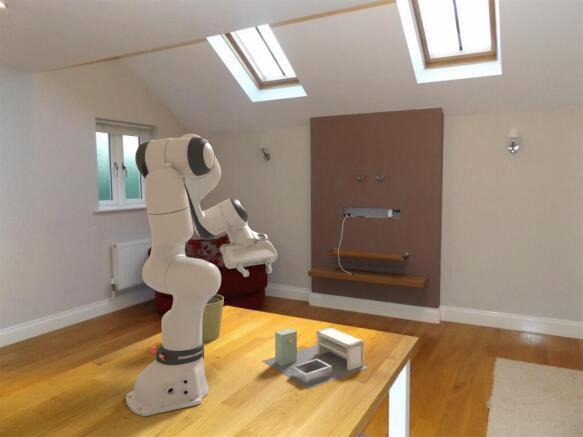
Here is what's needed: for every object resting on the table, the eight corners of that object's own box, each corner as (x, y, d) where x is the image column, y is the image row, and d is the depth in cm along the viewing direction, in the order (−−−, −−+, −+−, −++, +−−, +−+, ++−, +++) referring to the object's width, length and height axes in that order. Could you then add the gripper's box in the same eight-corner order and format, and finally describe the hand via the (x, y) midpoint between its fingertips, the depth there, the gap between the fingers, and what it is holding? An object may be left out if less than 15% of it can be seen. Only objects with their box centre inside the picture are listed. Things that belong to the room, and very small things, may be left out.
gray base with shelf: (308, 393, 130) (308, 362, 129) (262, 364, 149) (261, 337, 148) (367, 371, 144) (368, 343, 144) (318, 347, 164) (318, 322, 163)
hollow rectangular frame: (305, 385, 133) (305, 375, 132) (291, 376, 138) (291, 366, 138) (331, 375, 139) (332, 366, 138) (316, 367, 144) (316, 358, 144)
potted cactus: (175, 341, 169) (173, 261, 166) (195, 328, 184) (194, 254, 180) (213, 346, 164) (211, 264, 161) (231, 332, 179) (230, 256, 176)
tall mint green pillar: (283, 366, 145) (283, 336, 144) (275, 362, 148) (275, 332, 147) (298, 362, 148) (298, 332, 147) (290, 357, 152) (290, 328, 151)
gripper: (220, 239, 157) (235, 272, 151) (270, 234, 170) (286, 265, 163) (215, 250, 161) (229, 283, 155) (263, 244, 174) (278, 275, 167)
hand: (258, 273), depth 159 cm, fingers open, 8 cm apart
